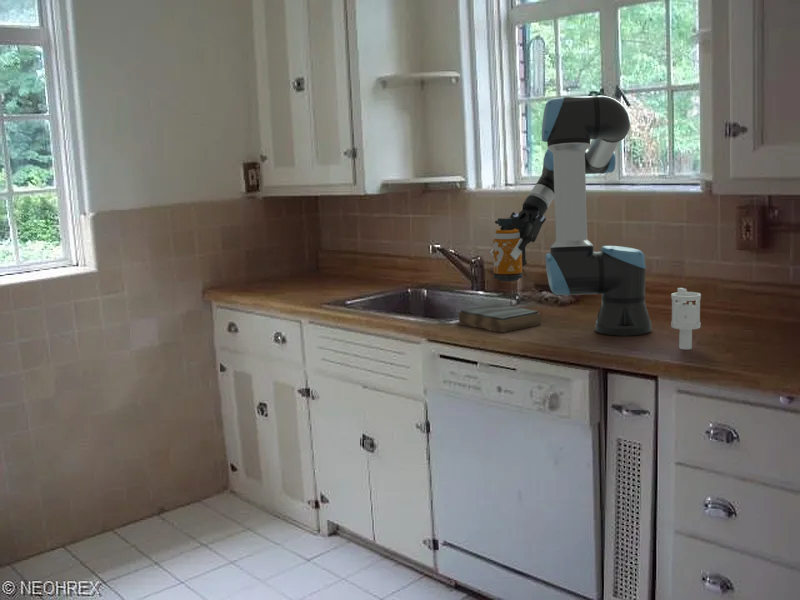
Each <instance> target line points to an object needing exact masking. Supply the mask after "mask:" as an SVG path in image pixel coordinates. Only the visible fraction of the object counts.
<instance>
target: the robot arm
mask: <svg viewBox="0 0 800 600" xmlns="http://www.w3.org/2000/svg"><path fill="white" fill-rule="evenodd" d="M631 120H632V119H631V115H630V113H629V111H628V110H627V108H626V107H625V106H624V104H622V103H621V102H620V101H618V100H617V99H615V98H612V97H610V96H605V95H593V96H591V95H590V96H589V95H586V96H584V95H583V96H562V97H554V98H549V99H548V100H547V101H546V103H545V106H544V111H543V118H542V122H541V123H542V125H541V141H542V142H544V143H546V144H547V149H546V151H545V153H544V157H543V160H542V161H543V163H542V170H541V175H540V177H539V179H538V180H537V182H536V184H534V186H533V188H532V189H531V190H530V192H529V193H528V196H527V197H526V198H525V200H524V201H523V203H522V210H521V211H519V212H518V213H516V212H515V211H513V212H511V214H510V216H509V218H511V217H512V216H513V217H518V218H519V219H521V220H522V221H524V222H525V223H526V225H525V230H524V235H523V237H522V238H523V239H522V238H520V240H519V241H518V243H517V244H516V246H515V247H514V249H513V251H512V252H511V254H510V255H511V256H512V258H513V259H514V260H517V258H518V257H519V255H520V253H521V252H522V251H523V250H524V249H525V250H526V247H527V245H528V244H530V243H531V242H532V243H535V241H536V240H537V238H538V236H539V233H540V231H541V228H542V226H543V224H544V223H545V221H546V220H547V218H546V217H545V213H546V212H547V210H548V208H549V207H550V206H551V204H552V202H553V201H554V222H555V223H554V225H555V228H554V229H555V240H554V242H553V243H552V245H550V252H548V253H546V254H545V257H544V258H545V268H546V276H547V280H548V285H549V288H550V290H551V292H552V293H553V294H554V295H557V296H559V295H560V296H577V295H578V296H579V295H581V296H582V295H601V305H600V307H599V310H598V313H597V318H596V320H595V331H596V332H597V333H599V334H603V335H609V336H619V337H621V336H639V335H645V334H648V333H651V332H652V320H651V319H650V316H649V312H648V308H647V306H646V305H647V304H646V269H647V267H646V257H645V254H644V252H643V251H642V250H641V249H637V248H634V247H628V246H619V245H602V246H601V249H600V251H594V245H593V243H592V242H591V241H590V240H589V239H588V222H587V221H588V220H587V219H588V217H587V188H586V186H587V185H586V184H587V183H586V175H588V174H589V175H590V174H591V175H593V174H595V175H596V174H598V175H599V174H600V175H604V174H610V173H613V172H614V171H615V169H616V152H615V151H616V149H617V146H618V145H619V143H620V142H621V141H622V140H624V139H625V138H626V137H627V135H628V133H629V131H630V129H631V125H632V123H631ZM517 224H518V223H517ZM518 225H519V224H518ZM519 226H520V225H519ZM522 227H523V226H522ZM499 229H501V227H500V228H499ZM502 229H503V227H502ZM514 229H515V228H514ZM489 253H490V254H491V256H492V257H493V258H494V254H493V247H492V249H491V250H490V251H489Z"/></svg>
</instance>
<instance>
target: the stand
mask: <svg viewBox="0 0 800 600" xmlns="http://www.w3.org/2000/svg"><path fill="white" fill-rule="evenodd" d="M541 315H542V314H541V312H539V311H538V310H533V309H528V308H522V307H516V306H511V305H506V304H500V303H499V304H498V303H494V304H488V305H483V306H479V307H478V306H477V307H472V308H467V309H462V310H461V311H460V312H458V324H459V325H463V326H464V325H465V326H469V327H473V328H477V327H479V329H482V328H486V329H485V330H487V329H491V330H490V331H492V330H495V331H494V332H497V331H500V332H499V333H501V332H504V333H508V332H507V331H509V332H513V331H512V330H514V331H518V330H523V329H527V328H531V327H536V326H540V325H542V319H541V317H542V316H541ZM517 329H518V330H517Z"/></svg>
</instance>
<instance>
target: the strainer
mask: <svg viewBox="0 0 800 600" xmlns="http://www.w3.org/2000/svg"><path fill="white" fill-rule="evenodd" d="M670 296H671V297H670V299H671V323H670V327H671V328H672V329H675V330H679V331H678V332H679V333H678V340H679V341H678V343H679V344H678V347H679V348H678V349H679V350H680V349H681V350H687V351H688V350H692V349H693V330H698V329H700V328H701V299H702V294H701V292H694V291H688V289H687V288H684V287H677V292H673V293H671V295H670ZM694 301H695V303H694V304H693V302H694ZM687 303H688V304H687Z"/></svg>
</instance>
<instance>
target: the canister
mask: <svg viewBox="0 0 800 600" xmlns="http://www.w3.org/2000/svg"><path fill="white" fill-rule="evenodd" d="M494 223H495V224H496V225H498V227H500V228H501V229H500V228H499V229H496V230H495V232H494V239H493V240H492V245H493V246H492V248H493V254H494V257H493V273H494V274H493V279H496V280H498V281H500V282H514V281H515V282H516V281H519V279H522V278H523V267H525V266H526V265H527V264H528V263H527V261H526V248H525V249H524V250H523V251H522V252H521V253H520V255H519V257H518V258H517V260H514V259H513V258H512V256H511V255H510V254H511V252H512V251H513V249H514V247H515V246H516V244H517V243H518V241H519V240H520V238H522V237H523V235H524V230H525V225H526V223H525V222H524V221H522V220H521V219H519V218H518V217H513V216H512V217H511V218H510V217H506V218H505V217H504V218H502V217H500V218H497V220H495V221H494ZM517 223H518V224H519V225H520V226H519V225H518V224H517ZM522 226H523V227H522ZM502 227H503V229H502ZM514 228H515V229H514ZM522 239H523V238H522Z"/></svg>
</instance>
